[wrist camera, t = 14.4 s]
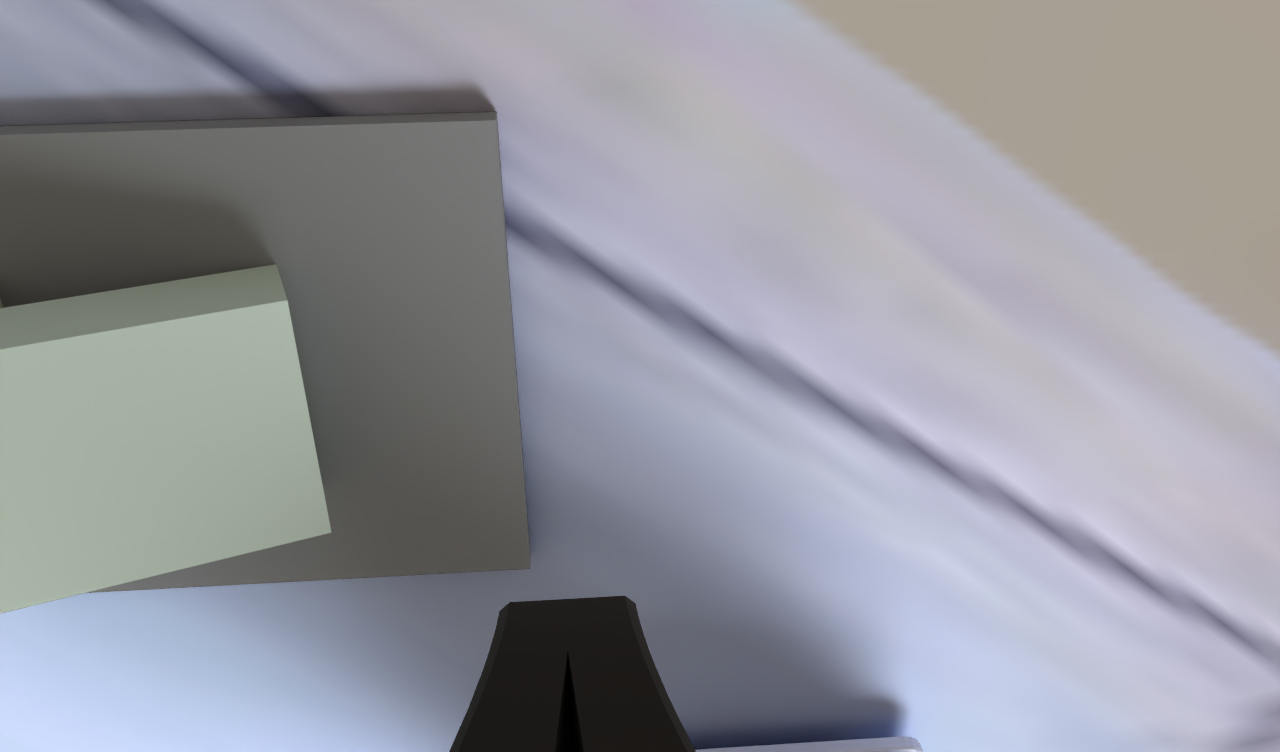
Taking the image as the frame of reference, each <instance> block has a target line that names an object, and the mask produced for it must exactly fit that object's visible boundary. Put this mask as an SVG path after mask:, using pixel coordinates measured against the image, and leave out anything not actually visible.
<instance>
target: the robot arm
mask: <svg viewBox="0 0 1280 752" xmlns="http://www.w3.org/2000/svg"><path fill="white" fill-rule="evenodd" d="M449 752H923V751H922V748H921V745H920V743H919V742H918V741H917V740H916V739H914V738H912V737H906V736H899V737H883V738H868V739H852V740H837V741H822V742H806V743H791V744H775V745H760V746H744V747H729V748H713V749H698V750H695V749H694V747H693V745H692V743H691V741H690V739H689V737H688V735H687V733H686V732H685V730H684V728H683V726H682V724H681V722H680V720H679V718H678V716H677V714H676V712H675V710H674V708H673V705H672V703H671V701H670V699H669V697H668V695H667V693H666V690H665V688H664V686H663V683H662V681H661V679H660V676H659V674H658V672H657V669H656V667H655V664H654V662H653V659H652V657H651V654H650V651H649V649H648V646H647V643H646V640H645V637H644V634H643V631H642V628H641V624H640V621H639V618H638V613H637V609H636V604H635V603H634V602H632V601H631V600H630V599H629V598H627V597H626V596H614V597H597V598H579V599H561V600H543V601H525V602H510V603H509V604H507V605H506V606H505V607H504V608H503V609H502V610H501V611H500V612H499V617H498V622H497V626H496V630H495V634H494V637H493V641H492V644H491V648H490V651H489V654H488V657H487V660H486V663H485V666H484V669H483V672H482V675H481V677H480V680H479V682H478V685H477V688H476V690H475V693H474V695H473V698H472V701H471V703H470V706H469V708H468V711H467V713H466V715H465V717H464V720H463V722H462V724H461V726H460V729H459V731H458V733H457V736H456V738H455V740H454V742H453V745H452V747H451V749H450V751H449Z"/></svg>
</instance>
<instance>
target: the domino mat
mask: <svg viewBox="0 0 1280 752" xmlns="http://www.w3.org/2000/svg"><path fill="white" fill-rule="evenodd" d="M274 264H276V265H277V268H278V272H279V275H280V278H281V281H282V284H283V288H284V291H285V294H286V297H287V301H288V306H289V311H290V316H291V322H292V327H293V332H294V337H295V343H296V348H297V353H298V358H299V364H300V369H301V374H302V380H303V385H304V390H305V395H306V401H307V406H308V411H309V416H310V422H311V427H312V432H313V437H314V443H315V448H316V453H317V459H318V464H319V469H320V474H321V480H322V485H323V490H324V495H325V501H326V506H327V511H328V517H329V522H330V527H331V532H332V533H328V534H324V535H319V536H315V537H311V538H307V539H303V540H299V541H295V542H291V543H287V544H283V545H279V546H274V547H270V548H266V549H262V550H258V551H254V552H250V553H246V554H242V555H238V556H234V557H229V558H225V559H221V560H217V561H213V562H209V563H205V564H201V565H197V566H193V567H189V568H185V569H180V570H176V571H172V572H168V573H164V574H160V575H156V576H152V577H148V578H144V579H140V580H135V581H131V582H127V583H123V584H119V585H115V586H111V587H107V588H103V589H99V590H95V591H90V592H86V593H92V592H111V591H129V590H148V589H166V588H185V587H203V586H221V585H240V584H258V583H277V582H295V581H314V580H332V579H351V578H369V577H387V576H406V575H424V574H443V573H461V572H480V571H498V570H516V569H530V542H529V529H528V516H527V503H526V490H525V477H524V464H523V451H522V437H521V424H520V411H519V398H518V385H517V372H516V359H515V346H514V333H513V320H512V307H511V293H510V280H509V267H508V254H507V241H506V228H505V215H504V202H503V189H502V176H501V163H500V149H499V136H498V123H497V112H471V113H436V114H402V115H368V116H333V117H299V118H265V119H230V120H196V121H162V122H127V123H93V124H59V125H24V126H0V299H1V302H2V305H3V308H6V307H12V306H18V305H25V304H31V303H37V302H43V301H50V300H56V299H62V298H68V297H75V296H81V295H87V294H93V293H100V292H106V291H112V290H118V289H125V288H131V287H137V286H143V285H150V284H156V283H162V282H168V281H175V280H181V279H187V278H193V277H200V276H206V275H212V274H218V273H224V272H231V271H237V270H243V269H249V268H256V267H262V266H268V265H274Z"/></svg>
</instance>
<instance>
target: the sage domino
mask: <svg viewBox="0 0 1280 752" xmlns="http://www.w3.org/2000/svg"><path fill="white" fill-rule="evenodd" d="M328 533H332V532H331V527H330V522H329V517H328V511H327V506H326V501H325V495H324V490H323V485H322V480H321V474H320V469H319V464H318V459H317V453H316V448H315V443H314V437H313V432H312V427H311V422H310V416H309V411H308V406H307V401H306V395H305V390H304V385H303V380H302V374H301V369H300V364H299V358H298V353H297V348H296V343H295V337H294V332H293V327H292V322H291V316H290V311H289V306H288V301H287V297H286V294H285V291H284V288H283V284H282V281H281V278H280V275H279V272H278V268H277V265H276V264H274V265H268V266H262V267H256V268H249V269H243V270H237V271H231V272H224V273H218V274H212V275H206V276H200V277H193V278H187V279H181V280H175V281H168V282H162V283H156V284H150V285H143V286H137V287H131V288H125V289H118V290H112V291H106V292H100V293H93V294H87V295H81V296H75V297H68V298H62V299H56V300H50V301H43V302H37V303H31V304H25V305H18V306H12V307H6V308H0V614H1V613H5V612H9V611H13V610H17V609H21V608H25V607H29V606H33V605H37V604H41V603H46V602H50V601H54V600H58V599H62V598H66V597H70V596H74V595H78V594H82V593H86V592H90V591H95V590H99V589H103V588H107V587H111V586H115V585H119V584H123V583H127V582H131V581H135V580H140V579H144V578H148V577H152V576H156V575H160V574H164V573H168V572H172V571H176V570H180V569H185V568H189V567H193V566H197V565H201V564H205V563H209V562H213V561H217V560H221V559H225V558H229V557H234V556H238V555H242V554H246V553H250V552H254V551H258V550H262V549H266V548H270V547H274V546H279V545H283V544H287V543H291V542H295V541H299V540H303V539H307V538H311V537H315V536H319V535H324V534H328Z"/></svg>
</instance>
